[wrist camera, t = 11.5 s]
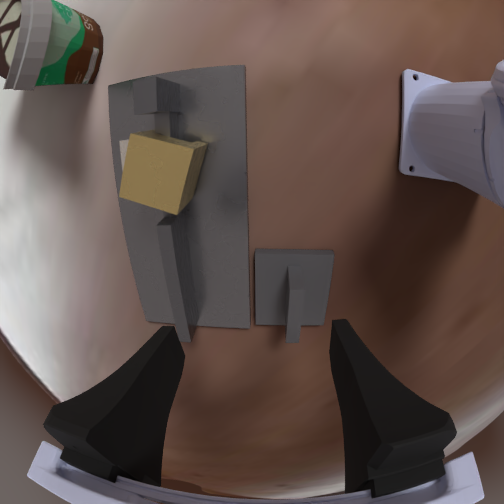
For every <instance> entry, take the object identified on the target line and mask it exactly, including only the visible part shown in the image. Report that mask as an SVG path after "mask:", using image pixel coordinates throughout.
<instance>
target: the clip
mask: <svg viewBox="0 0 504 504" xmlns="http://www.w3.org/2000/svg"><path fill="white" fill-rule="evenodd" d="M207 145H208V143H204V142H201V141H196V142H193V143H191V142H187V141H183V140H180V139H176V138H172V137H168V136H164V135H160V134H156V133H155V130H148V131H142V132H136V133H130V137H129V142H128V147H127V152H126V157H125V162H124V168H123V174H122V180H121V186H120V193H119V197H121V198H124V199H128V200H131V201H134V202H137V203H140V204H143V205H147V206H150V207H153V208H156V209H159V210H162V211H166V212H169V213H172V214H175V215H178V214H179V213H180V211H181V210H182V209H183V208H184V207H185V206H186V205H187V204H188V203H189V202H190V201H191V199H192V198H193V195H194V191H195V187H196V184H197V180H198V176H199V173H200V169H201V166H202V162H203V159H204V155H205V152H206V148H207Z"/></svg>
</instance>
